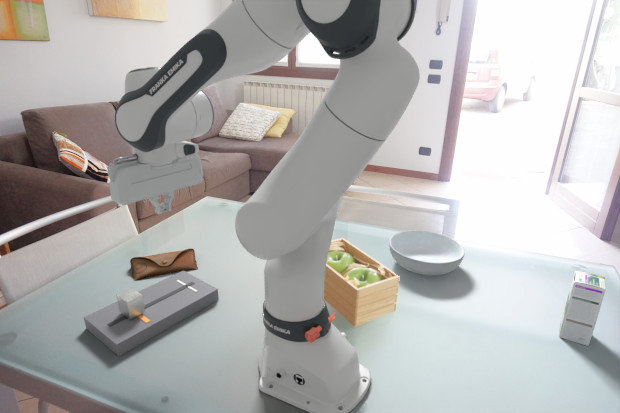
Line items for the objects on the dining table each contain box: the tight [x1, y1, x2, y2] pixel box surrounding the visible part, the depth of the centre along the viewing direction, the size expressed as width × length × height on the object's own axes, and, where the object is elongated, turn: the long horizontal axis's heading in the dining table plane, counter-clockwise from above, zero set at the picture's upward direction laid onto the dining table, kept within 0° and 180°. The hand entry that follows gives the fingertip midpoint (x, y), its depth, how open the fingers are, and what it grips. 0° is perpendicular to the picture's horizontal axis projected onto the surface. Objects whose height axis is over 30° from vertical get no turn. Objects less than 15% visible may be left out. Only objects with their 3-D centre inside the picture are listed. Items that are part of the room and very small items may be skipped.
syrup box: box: [559, 270, 606, 347], centre depth 89 cm, size 6×6×14 cm
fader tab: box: [116, 287, 145, 319], centre depth 91 cm, size 4×4×4 cm
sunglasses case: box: [130, 248, 199, 282], centre depth 116 cm, size 18×7×7 cm, turn 115°
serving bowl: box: [388, 229, 465, 276], centre depth 118 cm, size 21×21×7 cm
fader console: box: [83, 271, 220, 357], centre depth 96 cm, size 14×26×3 cm, turn 142°
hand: (163, 212), depth 89 cm, fingers closed
